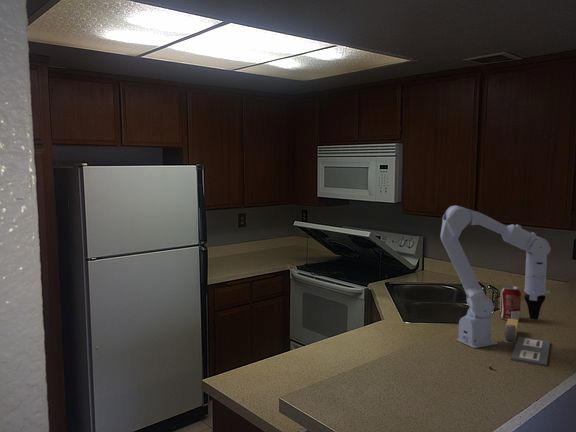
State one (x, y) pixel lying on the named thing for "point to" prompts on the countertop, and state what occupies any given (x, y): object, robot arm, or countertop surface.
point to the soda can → (510, 303)
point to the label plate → (530, 350)
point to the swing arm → (511, 329)
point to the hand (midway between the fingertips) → (534, 318)
